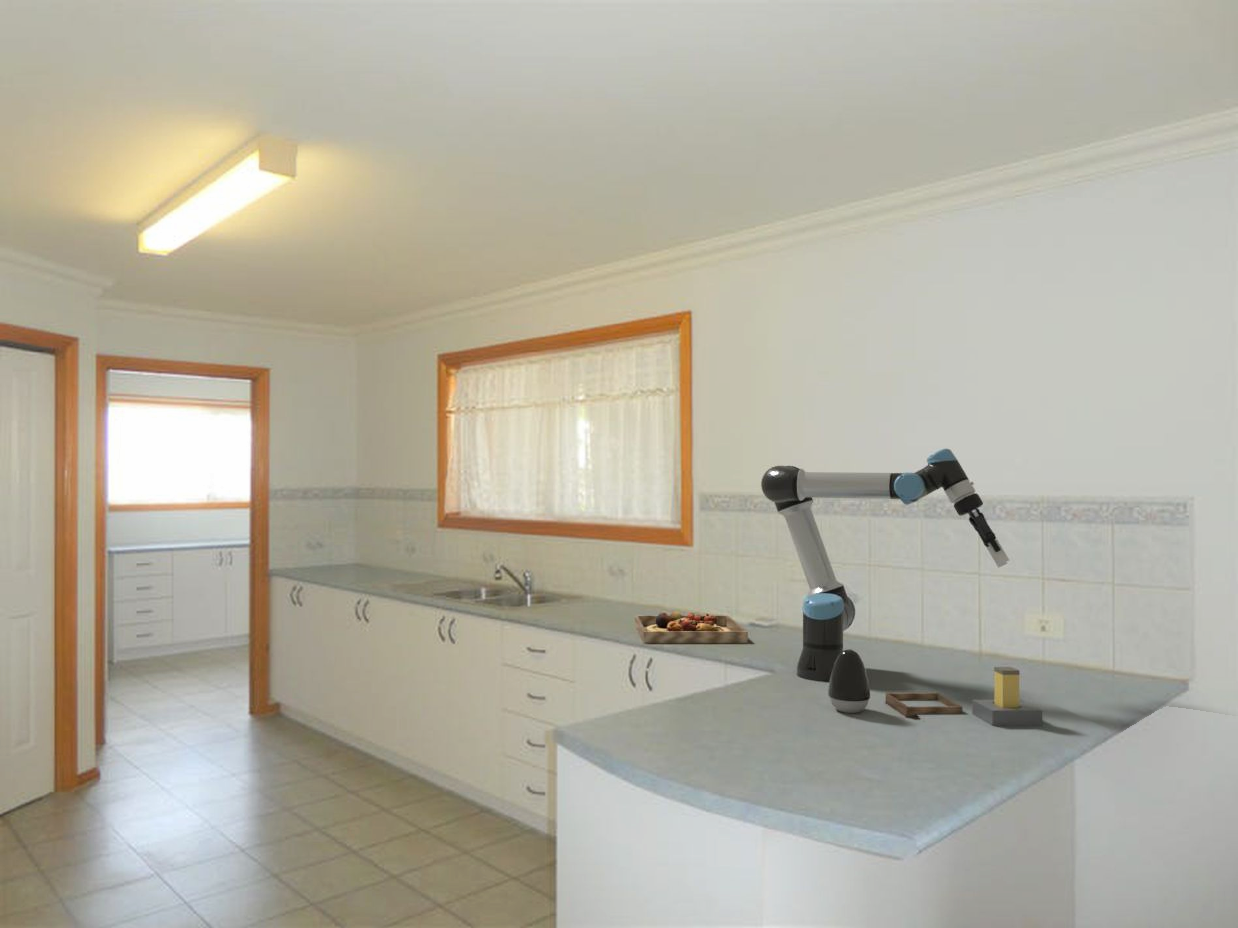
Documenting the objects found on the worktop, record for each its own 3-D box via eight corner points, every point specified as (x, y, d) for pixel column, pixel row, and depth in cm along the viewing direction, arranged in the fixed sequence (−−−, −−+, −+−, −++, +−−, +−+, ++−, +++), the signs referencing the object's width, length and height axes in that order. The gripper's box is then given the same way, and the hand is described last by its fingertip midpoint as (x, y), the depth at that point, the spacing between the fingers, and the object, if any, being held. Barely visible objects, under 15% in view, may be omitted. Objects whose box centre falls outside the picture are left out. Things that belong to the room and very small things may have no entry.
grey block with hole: (992, 729, 204) (992, 710, 204) (972, 718, 214) (972, 699, 214) (1042, 729, 205) (1042, 710, 205) (1020, 717, 215) (1020, 699, 215)
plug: (1002, 721, 207) (1002, 670, 207) (994, 717, 211) (994, 666, 211) (1019, 721, 207) (1019, 670, 208) (1010, 717, 211) (1010, 666, 212)
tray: (906, 717, 214) (906, 707, 214) (885, 702, 228) (885, 693, 228) (962, 717, 215) (962, 706, 215) (938, 702, 229) (938, 692, 229)
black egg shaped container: (871, 707, 223) (871, 647, 224) (868, 717, 213) (869, 654, 214) (830, 703, 227) (830, 644, 227) (826, 713, 217) (826, 651, 217)
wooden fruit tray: (643, 643, 308) (643, 631, 308) (634, 625, 345) (634, 615, 345) (747, 642, 310) (747, 631, 310) (728, 625, 347) (728, 615, 347)
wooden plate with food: (719, 645, 307) (720, 621, 307) (633, 637, 318) (634, 614, 318) (739, 632, 337) (740, 611, 337) (660, 626, 348) (660, 605, 348)
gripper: (977, 485, 242) (1018, 554, 236) (976, 498, 265) (1014, 561, 258) (951, 498, 244) (992, 567, 237) (953, 509, 267) (990, 572, 260)
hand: (1003, 564), depth 248 cm, fingers open, 13 cm apart
